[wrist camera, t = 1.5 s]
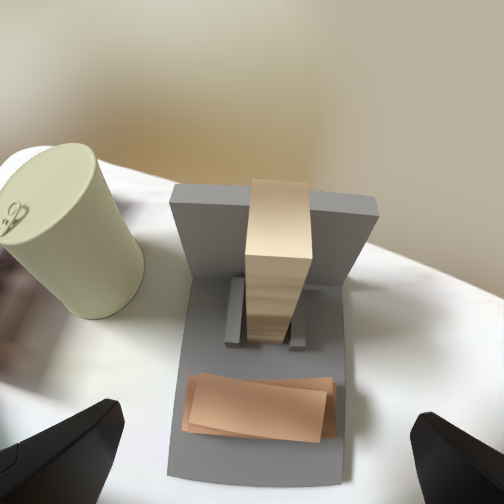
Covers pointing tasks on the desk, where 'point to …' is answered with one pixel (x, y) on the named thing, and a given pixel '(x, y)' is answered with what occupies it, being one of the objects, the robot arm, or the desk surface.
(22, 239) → the can
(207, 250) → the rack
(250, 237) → the birch strip
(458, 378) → the desk surface
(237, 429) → the offcut stack
